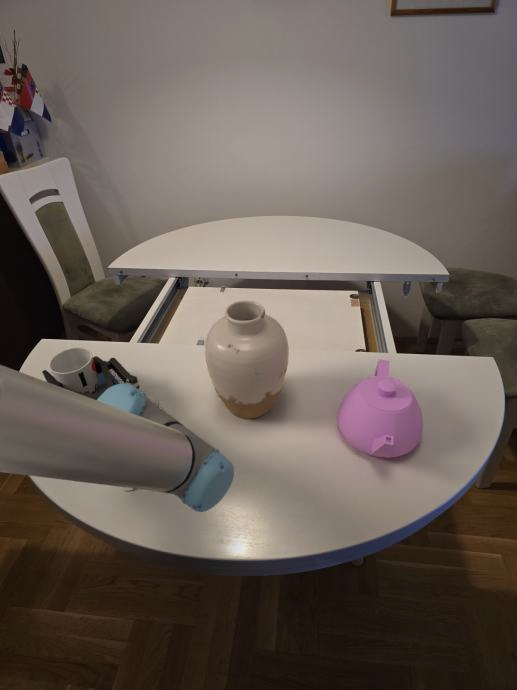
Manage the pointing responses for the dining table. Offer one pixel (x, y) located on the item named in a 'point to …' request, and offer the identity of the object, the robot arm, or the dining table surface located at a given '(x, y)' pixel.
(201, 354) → the dining table surface
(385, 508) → the dining table surface
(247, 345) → the vase
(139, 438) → the robot arm
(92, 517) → the dining table surface
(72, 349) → the cup
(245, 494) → the dining table surface
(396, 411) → the teapot
